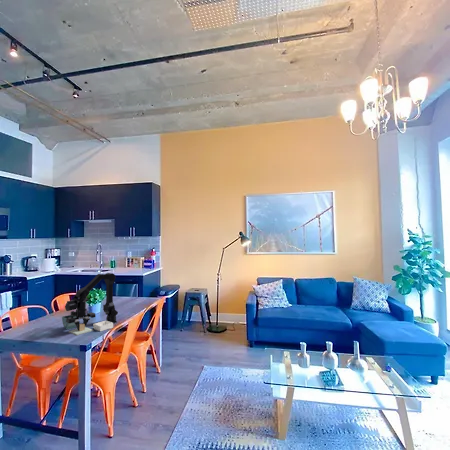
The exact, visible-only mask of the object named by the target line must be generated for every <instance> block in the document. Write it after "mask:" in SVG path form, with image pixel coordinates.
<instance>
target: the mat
mask: <svg viewBox="0 0 450 450" xmlns="http://www.w3.org/2000/svg"><path fill="white" fill-rule="evenodd" d="M94 331H95V329H92V331H89V332H86V333H82V334H79V335H76V334H73V333H71V332H70V331H68V332H67V333H68V334H70V335H73V336H75V337H77V336H80V335H84V334H87V333H90V332H94Z"/></svg>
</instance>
